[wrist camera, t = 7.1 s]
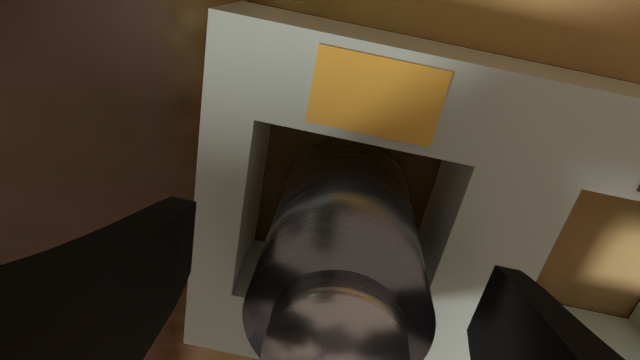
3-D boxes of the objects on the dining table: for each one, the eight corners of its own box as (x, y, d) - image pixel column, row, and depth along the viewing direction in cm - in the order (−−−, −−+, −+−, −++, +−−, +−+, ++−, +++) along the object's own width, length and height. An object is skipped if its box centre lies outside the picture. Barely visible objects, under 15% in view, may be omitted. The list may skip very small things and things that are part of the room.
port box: (632, 372, 17) (686, 452, 14) (212, 283, 17) (182, 344, 14) (807, 119, 12) (934, 161, 10) (242, 0, 12) (207, 8, 10)
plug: (400, 251, 15) (427, 445, 9) (286, 242, 16) (234, 424, 9) (416, 142, 14) (461, 286, 7) (286, 134, 14) (223, 266, 8)
